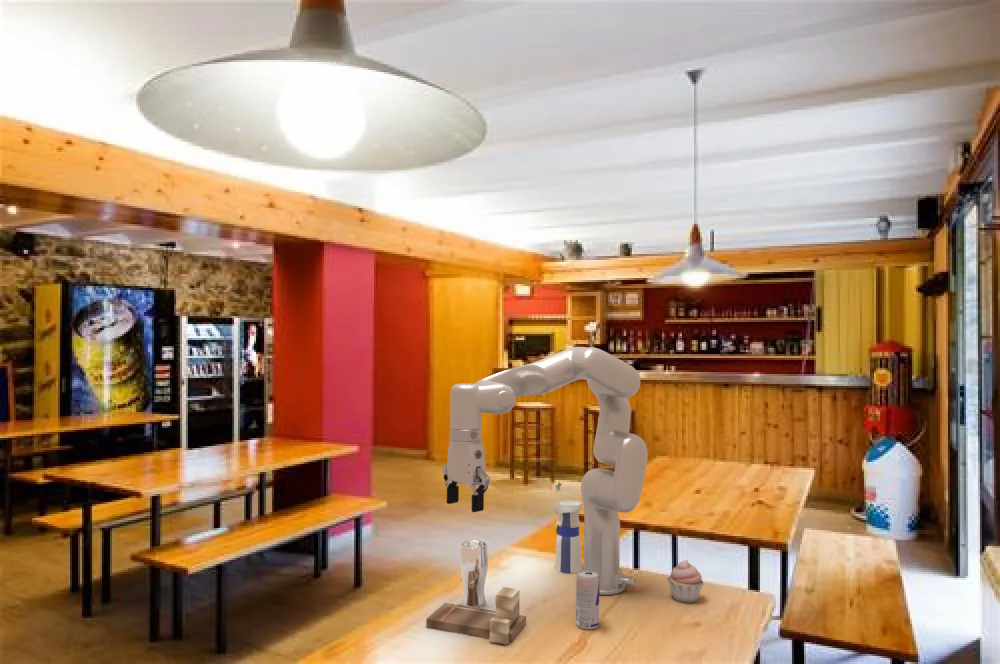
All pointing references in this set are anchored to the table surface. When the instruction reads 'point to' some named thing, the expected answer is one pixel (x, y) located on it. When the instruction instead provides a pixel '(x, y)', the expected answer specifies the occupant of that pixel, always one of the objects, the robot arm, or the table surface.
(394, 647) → the table surface
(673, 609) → the table surface
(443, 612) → the board
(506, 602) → the stacked wooden blocks
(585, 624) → the energy drink
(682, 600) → the cupcake
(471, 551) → the beer glass
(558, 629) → the table surface
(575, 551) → the water bottle
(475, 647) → the table surface
